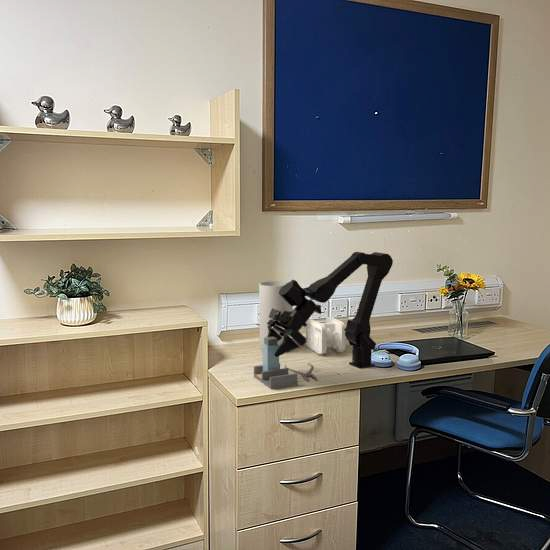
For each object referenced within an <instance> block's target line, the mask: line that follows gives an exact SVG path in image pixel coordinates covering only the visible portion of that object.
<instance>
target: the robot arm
mask: <svg viewBox="0 0 550 550" xmlns="http://www.w3.org/2000/svg"><path fill="white" fill-rule="evenodd" d="M393 263H394V260H393V258H392V256H391V254H389V253H385V252H384V253H383V252H378V251H377V252H376V251H374V252H371V254H369V253H366V252H362V251H361V252H360V251H355V252H353V253H352V254H351V255H350V256H349V257H348V258H346V260H344V262H342V263H341V264H339V265H338V266H337V267H336V268H335V269H334V270H333V271H332V272H331V273H329V274H328V275H327V276H324V277H322V278H320V279H318V280H316V281H314V282H313V283H311V284H310V285H309V286H307V287H302V286H301V285H300V284H299V282H298V281H297V280H296V279H291V281H288V282H289V283H287V284H285V285H284V286H282V287H281V289H280V291H279V295H280V296H281V297H282V298H283V299H284V300H285V301H286V302H287V303H288V304H289V305H290V306H293V311H292V312H291V311H286V310H282V311H278V310H276V309H273V308H272V310H271V312H270V315H269V318H272V319H270V320H269V322H268V323H267V325H268V326H267V327H268V331H269V333H268V336H267V337H275V338H277V342H278V341H279V340H281V339H282V337H281V336H284V340H283V342H282V343H281V345H280V346H279V348H278V349H277V351H276V352H275V354H274V355H275V356H276V357H278V356H279V357H280V356H281V355H284V354H286V353H288V352H291V351H292V350H295V349H299V348H300V347H301V348H303V347H304V345H306V336H305V335H303V334H302V333H301V332H300V330H301V329H302V328H303V327H304V328H306V326H307V324H306V322H307V320H308V319H311V317H312V316H313V314H314V313H317V314H319V315H321V314H322V305H320V304H317V303H327V302H328V301H329V300H330V299H331V297H332V296H333V295H334V294H335V292H336V289H337V288H338V286H339V285H341V284H342V283H343V282H344V281H345V280H346V279H348V278H349V277H350V276H351V275H352V274H354V273H355V272H356V271H357V270H359V268H360V267H362V266H363V265H365V266H366V272H367V279H366V282H365V285H364V289H363V291H362V295H361V297H360V301H359V305H358V308H357V310H356V314H355V316H354V317H353V319H347V321H346V325H345V329H344V331H345V340H347V341H348V344H349V346H352V351H351V352H352V354H351V356H352V359H351V361H350V362H348V365H350V366H353V367H356V368H359V369H363V368H369V367H373V366H375V363H373V362H372V350H375V348H376V345H377V343H376V341H374V340H373V339H372V337H371V330H372V328H371V323H370V322H371V321H370V320H371V316H372V313H373V310H374V307H375V304H376V300H377V297H378V294H379V291H380V287H381V285H382V282H383V280H384V279H385V278H386V277H387V276H388V274H389V273H390V271H391V269H392V267H393V265H394V264H393ZM308 298H309V299H308ZM314 301H315V302H317V303H315V302H314ZM294 306H295V307H294Z"/></svg>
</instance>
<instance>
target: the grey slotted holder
mask: <svg viewBox="0 0 550 550" xmlns="http://www.w3.org/2000/svg"><path fill="white" fill-rule="evenodd" d="M288 368H289V367H287V368H285V367H284V368H281V363H280V362H279V369H276V370H269V371H263V364H260V365H254V366H253V378H255V379H256V380H257V381H259V382H260V381H261V382H260V383H262V384H263V383H264V384H263V385H265V386H266V387H267V386H268V387H267V388H269V389H270V388H271V389H270V390H273V389H272V388H274V389H279V388H278V387H281V388H286V386H288V387H294V386H298V384H299V383H298V381H299V380H298V373H295V372H294V373H290V371H289V369H290V368H289V369H288Z"/></svg>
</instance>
